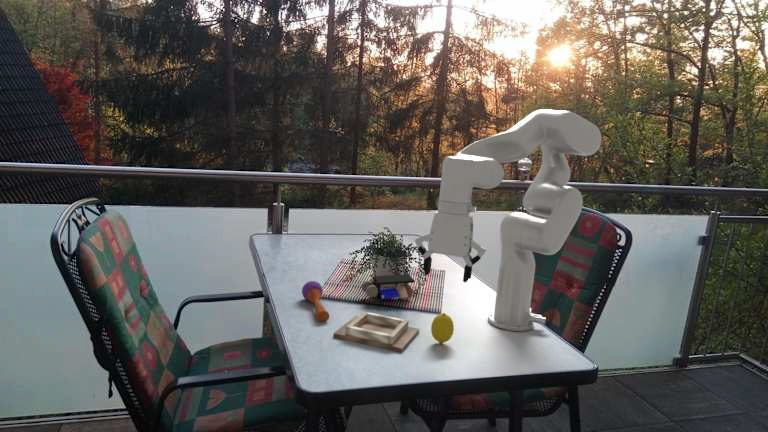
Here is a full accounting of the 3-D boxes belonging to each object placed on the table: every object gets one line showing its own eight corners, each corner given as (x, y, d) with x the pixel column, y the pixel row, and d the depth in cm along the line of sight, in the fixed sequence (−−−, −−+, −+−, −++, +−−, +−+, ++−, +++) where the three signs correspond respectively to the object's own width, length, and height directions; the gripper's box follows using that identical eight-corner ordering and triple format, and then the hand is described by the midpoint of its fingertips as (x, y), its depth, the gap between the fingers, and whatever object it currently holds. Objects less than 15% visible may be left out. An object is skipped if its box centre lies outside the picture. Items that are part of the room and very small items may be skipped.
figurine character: (367, 309, 163) (415, 302, 167) (366, 284, 161) (415, 277, 165) (361, 301, 169) (408, 294, 173) (360, 277, 167) (407, 271, 172)
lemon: (434, 348, 135) (437, 317, 133) (426, 339, 140) (429, 309, 138) (455, 347, 136) (458, 317, 135) (447, 338, 141) (450, 309, 140)
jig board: (418, 332, 144) (419, 321, 143) (401, 352, 131) (402, 340, 130) (355, 319, 150) (356, 308, 149) (333, 337, 137) (334, 325, 136)
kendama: (310, 309, 144) (299, 280, 163) (313, 329, 146) (302, 298, 165) (332, 304, 146) (319, 276, 164) (335, 324, 148) (321, 294, 166)
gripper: (492, 211, 132) (484, 280, 135) (423, 202, 138) (416, 268, 141) (487, 215, 125) (478, 287, 128) (414, 205, 131) (408, 274, 134)
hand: (446, 277), depth 135 cm, fingers open, 9 cm apart
